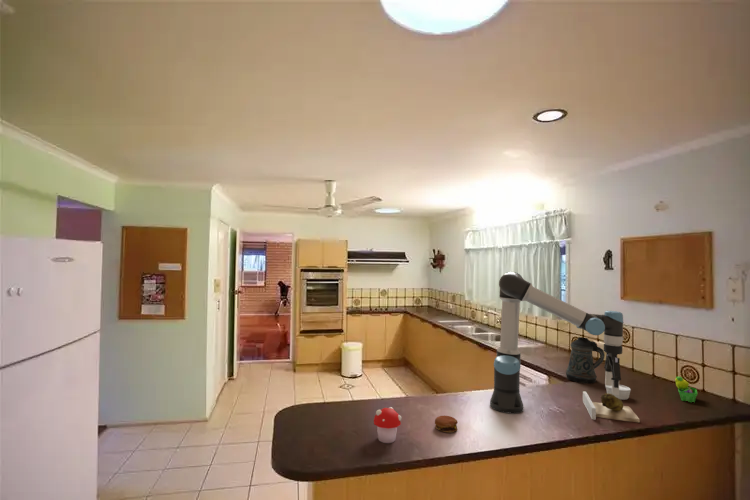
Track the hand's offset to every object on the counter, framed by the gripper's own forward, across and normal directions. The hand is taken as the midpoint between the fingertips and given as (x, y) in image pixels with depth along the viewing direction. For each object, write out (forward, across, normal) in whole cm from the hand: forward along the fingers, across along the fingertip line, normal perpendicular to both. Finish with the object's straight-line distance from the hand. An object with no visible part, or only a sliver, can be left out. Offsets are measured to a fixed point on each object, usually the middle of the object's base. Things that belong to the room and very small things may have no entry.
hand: (611, 389), depth 180 cm
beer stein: (+11, +54, +3) cm, 55 cm away
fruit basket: (+10, +37, -42) cm, 57 cm away
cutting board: (+11, 0, -1) cm, 11 cm away
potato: (+9, -1, -1) cm, 9 cm away
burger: (+13, -46, +69) cm, 84 cm away
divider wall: (+11, 0, +9) cm, 14 cm away
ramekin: (+11, +27, -9) cm, 30 cm away
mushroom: (+13, -65, +89) cm, 111 cm away
